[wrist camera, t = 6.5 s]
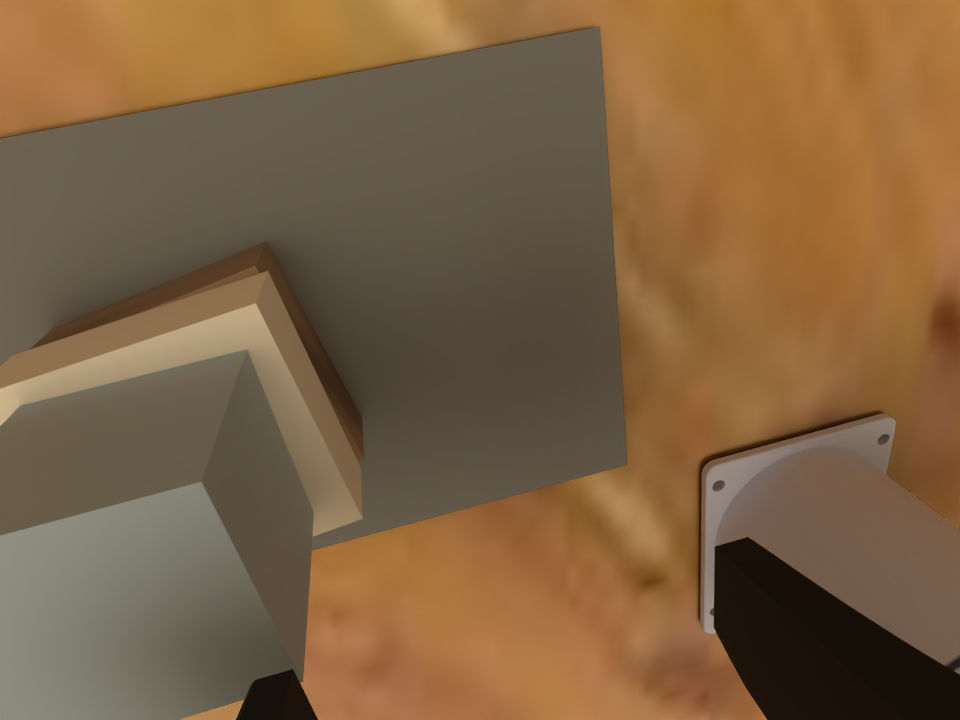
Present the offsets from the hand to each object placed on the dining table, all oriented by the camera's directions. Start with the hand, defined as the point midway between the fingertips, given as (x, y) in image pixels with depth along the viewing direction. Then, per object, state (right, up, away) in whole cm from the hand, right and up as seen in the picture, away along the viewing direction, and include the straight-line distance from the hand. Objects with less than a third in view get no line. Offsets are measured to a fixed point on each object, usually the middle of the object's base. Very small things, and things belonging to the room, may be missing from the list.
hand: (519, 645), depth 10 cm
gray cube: (-7, +3, +3) cm, 8 cm away
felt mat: (-5, +5, +8) cm, 11 cm away
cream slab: (-8, +3, +5) cm, 10 cm away
